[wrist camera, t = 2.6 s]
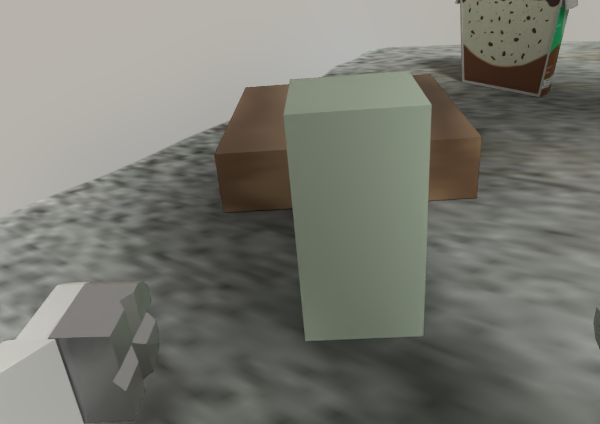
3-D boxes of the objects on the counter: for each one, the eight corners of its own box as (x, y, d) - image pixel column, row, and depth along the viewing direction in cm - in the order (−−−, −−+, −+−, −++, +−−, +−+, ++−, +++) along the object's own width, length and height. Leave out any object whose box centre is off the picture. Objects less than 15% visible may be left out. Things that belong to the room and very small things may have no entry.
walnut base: (428, 119, 47) (430, 74, 45) (476, 197, 33) (481, 136, 31) (251, 131, 48) (245, 87, 46) (223, 212, 34) (214, 154, 32)
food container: (591, 86, 52) (610, -24, 48) (554, 100, 49) (570, -17, 45) (487, 69, 62) (495, -25, 57) (451, 80, 59) (456, -18, 54)
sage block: (405, 269, 27) (408, 71, 22) (423, 336, 22) (431, 104, 18) (307, 274, 27) (290, 79, 23) (305, 341, 23) (283, 114, 18)
